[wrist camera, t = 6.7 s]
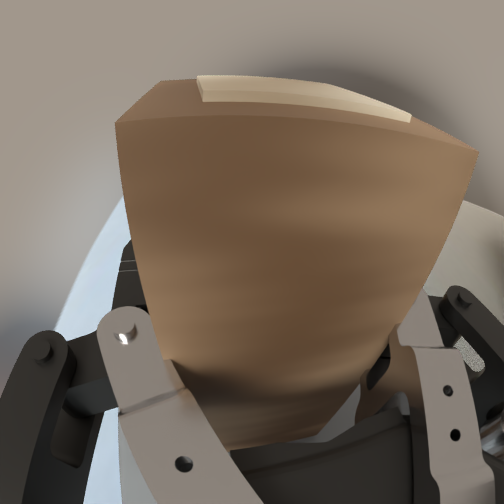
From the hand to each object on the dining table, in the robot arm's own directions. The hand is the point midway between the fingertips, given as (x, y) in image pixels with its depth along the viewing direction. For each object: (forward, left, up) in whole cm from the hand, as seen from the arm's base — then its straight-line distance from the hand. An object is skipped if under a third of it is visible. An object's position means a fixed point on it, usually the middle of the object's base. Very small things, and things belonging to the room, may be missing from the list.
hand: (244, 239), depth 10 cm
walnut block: (0, +3, -7) cm, 7 cm away
